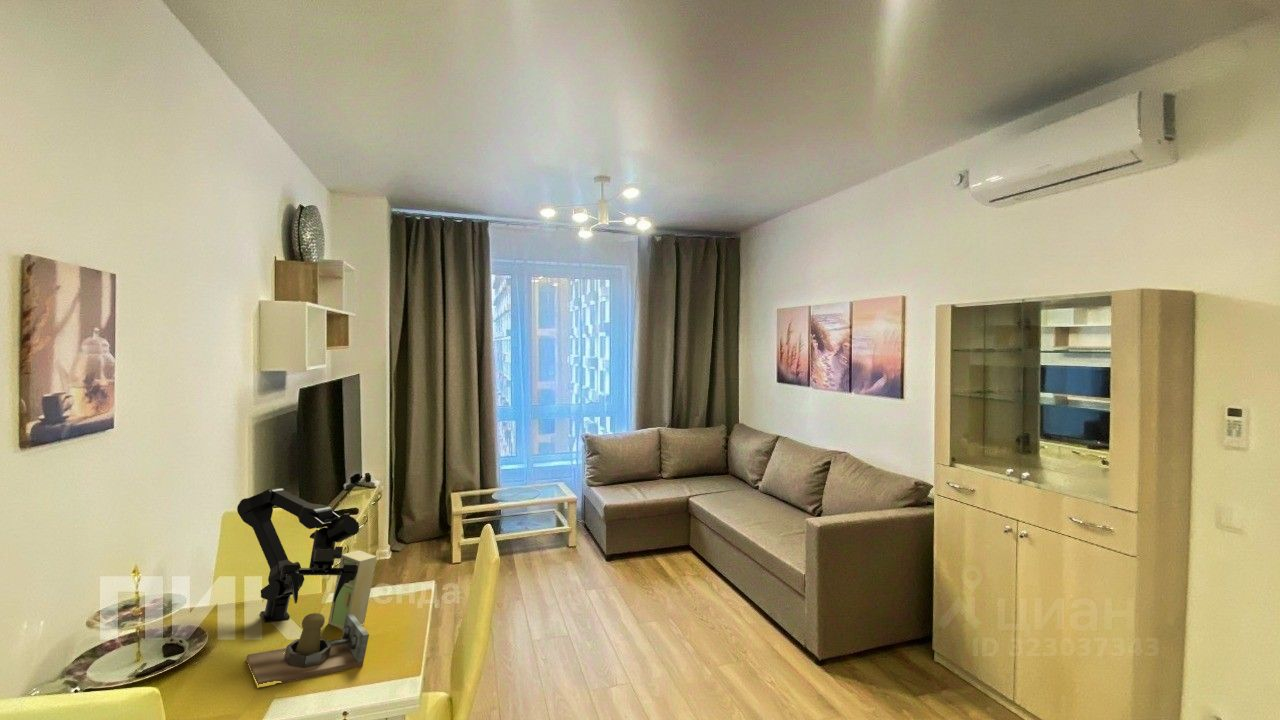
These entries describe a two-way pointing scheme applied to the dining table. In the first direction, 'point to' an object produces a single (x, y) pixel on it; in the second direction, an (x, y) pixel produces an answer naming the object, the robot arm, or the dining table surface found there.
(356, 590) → the toy refrigerator
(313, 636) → the cork
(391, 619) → the dining table surface
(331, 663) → the wooden peg base
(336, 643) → the clip ring
